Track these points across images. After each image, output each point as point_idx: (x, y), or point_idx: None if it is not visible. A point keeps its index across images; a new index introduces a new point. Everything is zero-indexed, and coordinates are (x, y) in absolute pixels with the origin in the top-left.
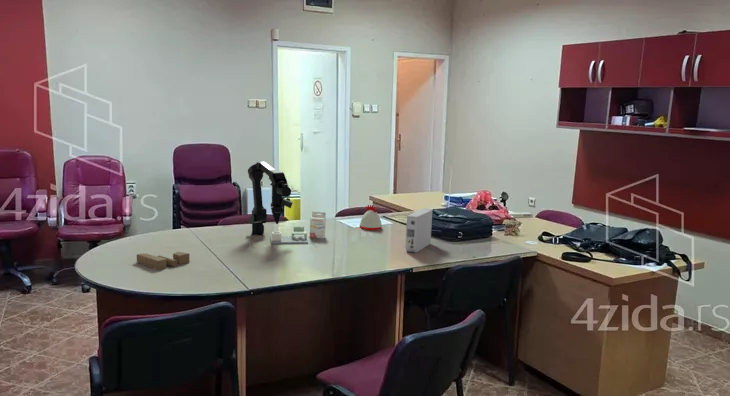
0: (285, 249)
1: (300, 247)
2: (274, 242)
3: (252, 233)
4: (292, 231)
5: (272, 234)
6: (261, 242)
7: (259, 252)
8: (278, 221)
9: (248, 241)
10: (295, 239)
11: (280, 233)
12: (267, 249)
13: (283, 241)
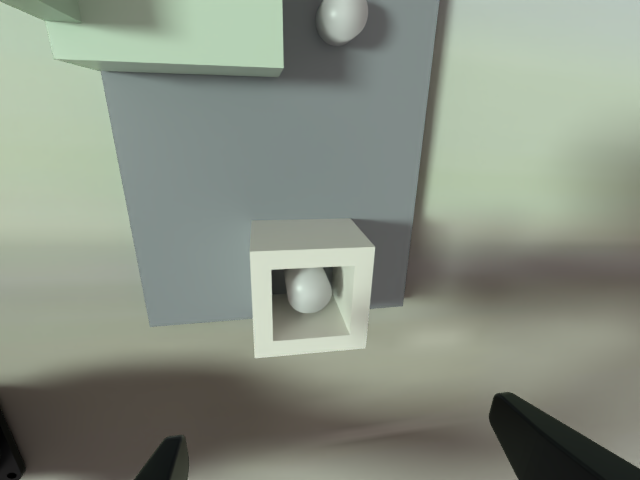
0: (588, 183)
1: (573, 22)
2: (404, 280)
3: (4, 478)
4: (130, 52)
5: (363, 339)
6: (326, 371)
7: (593, 356)
8: (570, 430)
9: (287, 452)
10: (347, 42)
11: (364, 258)
12: (541, 315)
13: (383, 196)
